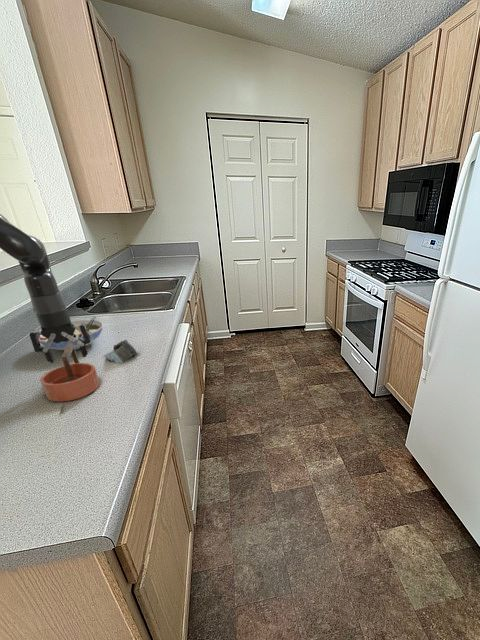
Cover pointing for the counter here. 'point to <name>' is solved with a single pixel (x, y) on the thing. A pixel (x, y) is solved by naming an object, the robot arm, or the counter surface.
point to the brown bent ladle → (65, 358)
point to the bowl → (73, 388)
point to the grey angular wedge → (122, 352)
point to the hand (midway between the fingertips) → (69, 359)
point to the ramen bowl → (78, 334)
